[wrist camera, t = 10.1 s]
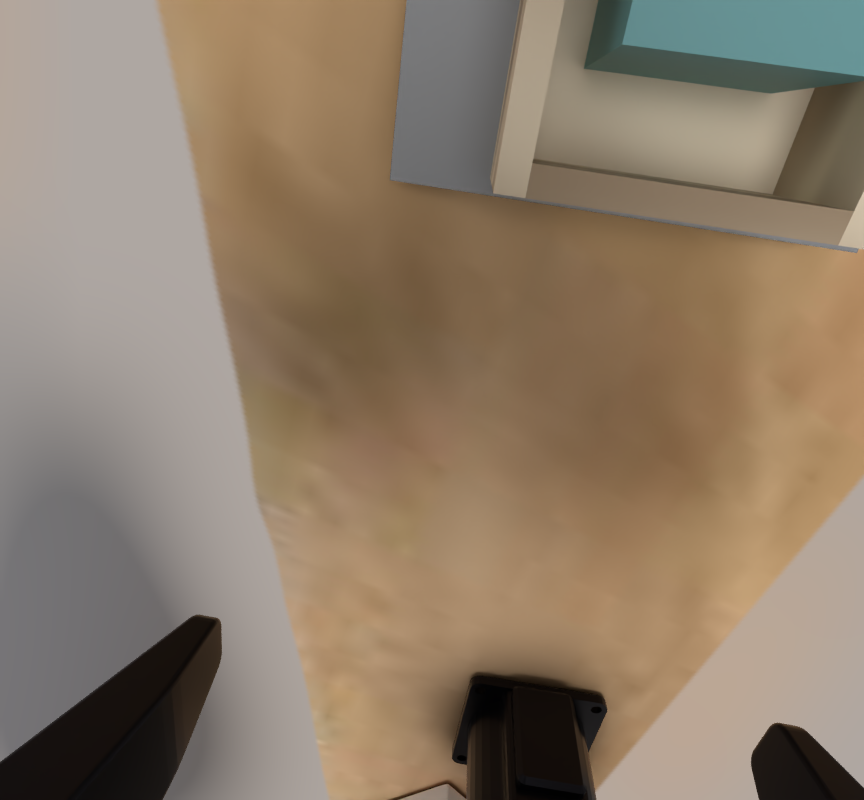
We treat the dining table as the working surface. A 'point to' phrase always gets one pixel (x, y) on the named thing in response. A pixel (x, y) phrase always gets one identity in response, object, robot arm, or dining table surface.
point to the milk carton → (437, 794)
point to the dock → (466, 100)
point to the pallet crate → (674, 141)
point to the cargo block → (731, 42)
